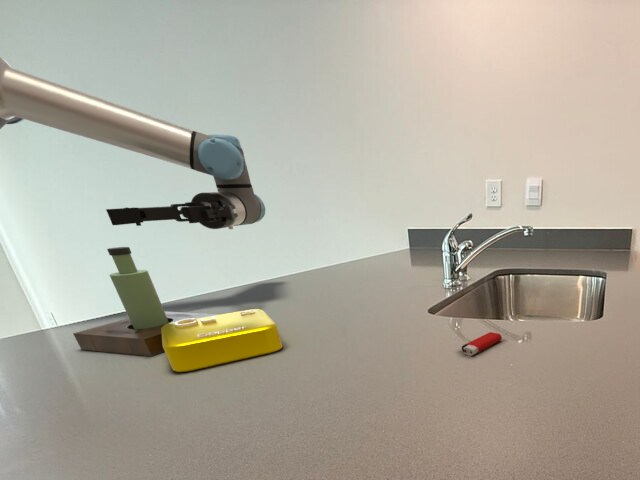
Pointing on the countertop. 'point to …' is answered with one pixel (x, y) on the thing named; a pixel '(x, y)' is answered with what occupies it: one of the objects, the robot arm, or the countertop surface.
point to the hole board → (129, 336)
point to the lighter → (481, 343)
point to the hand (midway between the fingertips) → (150, 216)
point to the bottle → (136, 291)
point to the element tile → (219, 339)
